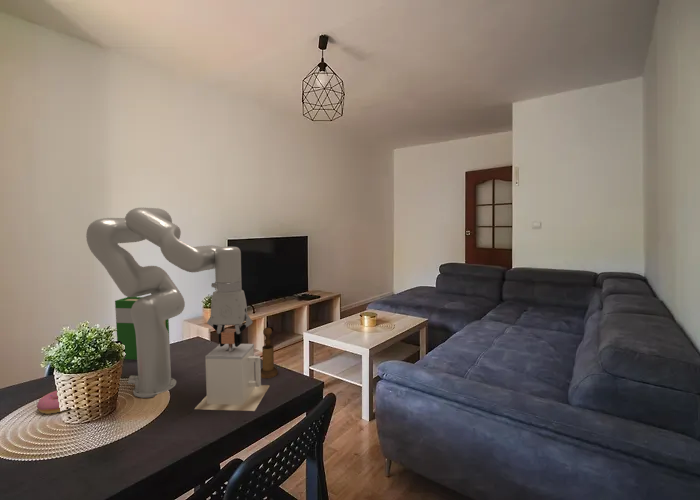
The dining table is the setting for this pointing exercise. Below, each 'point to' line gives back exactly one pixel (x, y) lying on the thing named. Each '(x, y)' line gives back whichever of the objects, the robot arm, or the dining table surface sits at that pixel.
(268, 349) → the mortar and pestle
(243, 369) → the press pot
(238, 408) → the birch board
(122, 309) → the hardback book
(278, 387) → the dining table surface
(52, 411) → the doughnut
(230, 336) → the brown square-faced block
